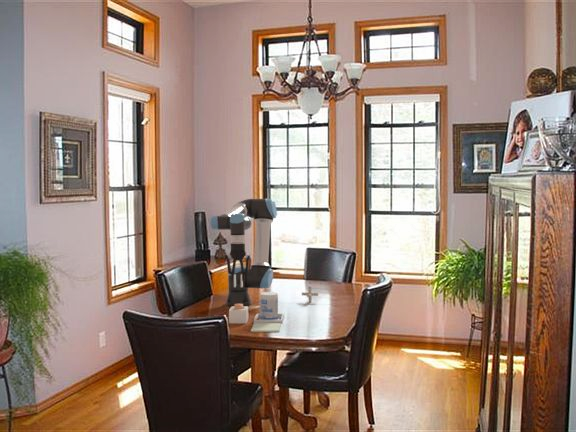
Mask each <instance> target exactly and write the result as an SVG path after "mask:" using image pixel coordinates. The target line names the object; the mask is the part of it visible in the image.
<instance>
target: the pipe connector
mask: <svg viewBox="0 0 576 432" xmlns="http://www.w3.org/2000/svg"><path fill="white" fill-rule="evenodd" d="M301 296H305V297H306V296H307V298H308V303H310V304H311V303H312V302H313V301H312V300H313V299H312V297H315V296H316V297H319V292H313V291H312V285H308V292H301Z"/></svg>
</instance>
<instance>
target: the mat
mask: <svg viewBox="0 0 576 432" xmlns="http://www.w3.org/2000/svg"><path fill="white" fill-rule="evenodd" d="M281 327H282V324H281V323H254V322H253V325H252V327H251V329H250V333H280V330H281Z"/></svg>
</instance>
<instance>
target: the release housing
mask: <svg viewBox="0 0 576 432" xmlns="http://www.w3.org/2000/svg"><path fill="white" fill-rule="evenodd" d="M248 321H249V306H243V309H234V306H232V307H230V308H229V310H228V324H247V323H248Z"/></svg>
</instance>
